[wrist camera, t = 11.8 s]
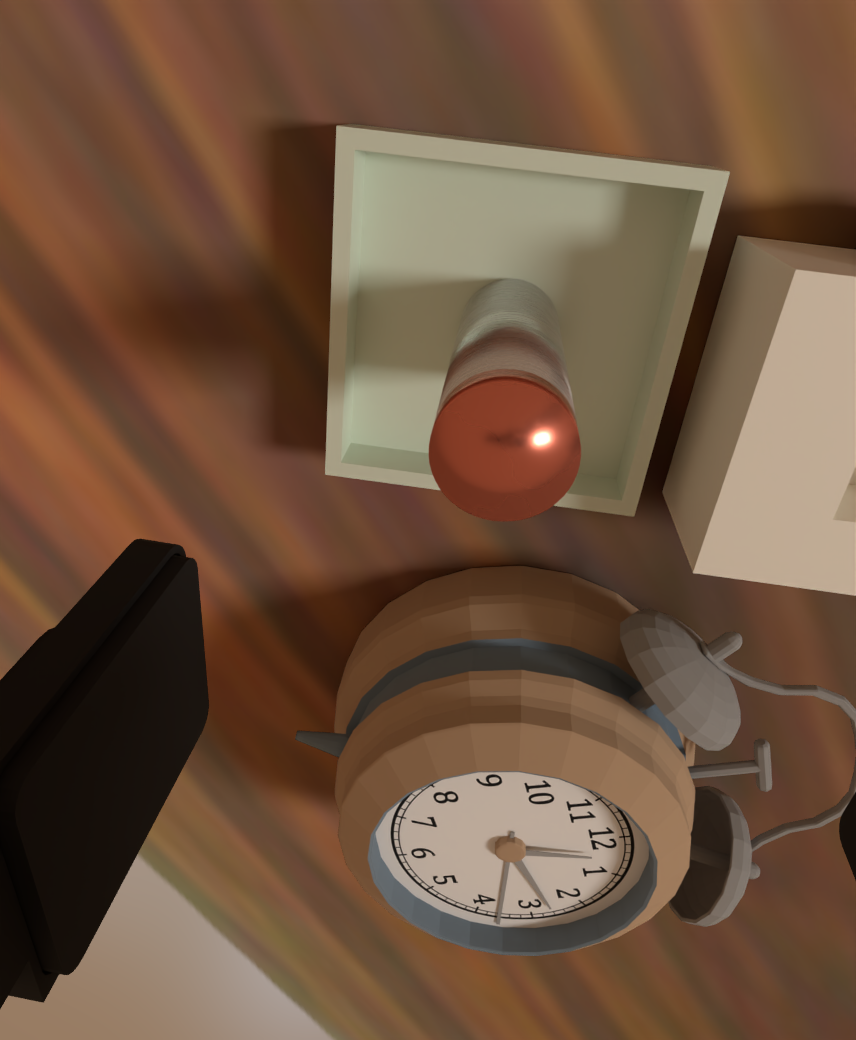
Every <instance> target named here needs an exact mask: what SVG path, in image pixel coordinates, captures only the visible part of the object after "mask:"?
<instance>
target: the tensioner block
mask: <svg viewBox="0 0 856 1040" xmlns="http://www.w3.org/2000/svg"><path fill="white" fill-rule="evenodd" d="M662 493H663V495H664V498H665V501H666V503H667V506H668V509H669V511H670V514H671V516H672V519H673V522H674V524H675V527H676V530H677V532H678V535H679V538H680V540H681V543H682V545H683V548H684V551H685V553H686V556H687V559H688V561H689V564H690V567H691V569H692V572H693V573H697V574H704V575H712V576H719V577H726V578H733V579H740V580H748V581H755V582H762V583H769V584H776V585H783V586H791V587H798V588H805V589H812V590H819V591H827V592H834V593H841V594H848V595H855V596H856V249H847V248H839V247H831V246H822V245H814V244H806V243H798V242H789V241H781V240H773V239H764V238H756V237H748V236H739V235H738V236H737V240H736V243H735V246H734V250H733V253H732V257H731V260H730V263H729V267H728V270H727V274H726V277H725V280H724V284H723V287H722V291H721V294H720V297H719V301H718V304H717V308H716V311H715V314H714V318H713V321H712V325H711V328H710V331H709V335H708V338H707V342H706V345H705V348H704V352H703V355H702V359H701V362H700V365H699V369H698V372H697V376H696V379H695V382H694V386H693V389H692V393H691V396H690V399H689V403H688V406H687V410H686V413H685V416H684V420H683V423H682V427H681V430H680V433H679V437H678V440H677V444H676V447H675V450H674V454H673V457H672V461H671V464H670V467H669V471H668V474H667V477H666V481H665V484H664V488H663V491H662Z"/></svg>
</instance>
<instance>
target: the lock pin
mask: <svg viewBox="0 0 856 1040" xmlns="http://www.w3.org/2000/svg"><path fill="white" fill-rule="evenodd" d="M580 460H581V444H580V437H579V432H578V426H577V421H576V415H575V410H574V404H573V398H572V393H571V387H570V382H569V376H568V371H567V365H566V360H565V354H564V348H563V343H562V337H561V332H560V326H559V321H558V315H557V312H556V309H555V307H554V304H553V303H552V301H551V299H550V298H549V297H548V296H547V294H546V293H545V292H544V291H543V290H541V289H540V288H539V287H537V286H536V285H534V284H532V283H530V282H527V281H524V280H520V279H501V280H497V281H494V282H491V283H489V284H487V285H485V286H483V287H482V288H481V289H479V290H478V291H477V292H476V293H475V294H474V295H473V296H472V297H471V298H470V300H469V301H468V303H467V304H466V306H465V308H464V310H463V313H462V317H461V320H460V324H459V328H458V332H457V336H456V340H455V344H454V347H453V351H452V355H451V359H450V363H449V367H448V371H447V375H446V378H445V382H444V386H443V390H442V394H441V398H440V402H439V406H438V409H437V413H436V417H435V421H434V425H433V429H432V433H431V437H430V442H429V464H430V468H431V471H432V474H433V477H434V479H435V481H436V483H437V485H438V486H439V488H440V490H441V491H442V492H443V493H444V495H445V496H446V497H447V498H448V499H449V500H450V501H451V502H452V503H454V504H455V505H456V506H457V507H459V508H460V509H462V510H464V511H465V512H467V513H469V514H472V515H474V516H476V517H480V518H483V519H487V520H492V521H516V520H523V519H526V518H530V517H533V516H535V515H538V514H540V513H542V512H544V511H546V510H547V509H549V508H550V507H552V506H553V505H555V504H556V503H557V502H558V501H559V500H560V499H561V498H562V497H563V496H564V495H565V494H566V493H567V491H568V490H569V489H570V487H571V486H572V484H573V482H574V480H575V478H576V476H577V473H578V470H579V466H580Z"/></svg>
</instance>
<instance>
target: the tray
mask: <svg viewBox="0 0 856 1040" xmlns="http://www.w3.org/2000/svg"><path fill="white" fill-rule="evenodd" d="M729 174H730V172H729V171H726V170H723V169H719V168H716V167H713V166H708V165H700V164H691V163H683V162H674V161H666V160H657V159H649V158H640V157H632V156H623V155H614V154H606V153H597V152H589V151H580V150H572V149H563V148H555V147H546V146H538V145H529V144H520V143H512V142H503V141H495V140H486V139H478V138H469V137H461V136H452V135H444V134H435V133H427V132H418V131H409V130H401V129H392V128H384V127H375V126H367V125H358V124H346V125H338V126H336V152H335V183H334V214H333V246H332V277H331V308H330V339H329V370H328V401H327V432H326V463H325V475H333V476H340V477H347V478H355V479H362V480H369V481H377V482H384V483H391V484H399V485H406V486H413V487H421V488H428V489H435V490H440V488H439V486H438V485H437V483H436V481H435V479H434V477H433V474H432V471H431V468H430V464H429V442H430V437H431V433H432V429H433V425H434V421H435V417H436V413H437V409H438V406H439V402H440V398H441V394H442V390H443V386H444V382H445V378H446V375H447V371H448V367H449V363H450V359H451V355H452V351H453V347H454V344H455V340H456V336H457V332H458V328H459V324H460V320H461V317H462V313H463V310H464V308H465V306H466V304H467V303H468V301H469V300H470V298H471V297H472V296H473V295H474V294H475V293H476V292H477V291H478V290H479V289H481V288H482V287H483V286H485V285H487V284H489V283H491V282H494V281H497V280H501V279H520V280H524V281H527V282H530V283H532V284H534V285H536V286H537V287H539V288H540V289H541V290H543V291H544V292H545V293H546V294H547V296H548V297H549V298H550V299H551V301H552V303H553V304H554V307H555V309H556V312H557V315H558V321H559V326H560V332H561V337H562V343H563V348H564V354H565V360H566V365H567V371H568V376H569V382H570V387H571V393H572V398H573V404H574V410H575V415H576V421H577V426H578V432H579V437H580V444H581V460H580V466H579V470H578V473H577V476H576V478H575V480H574V482H573V484H572V486H571V487H570V489H569V490H568V491H567V493H566V494H565V495H564V496H563V497H562V498H561V499H560V500H559V501H558V502H557V503H556V504H555V505H553V506H560V507H567V508H574V509H582V510H589V511H596V512H604V513H611V514H618V515H626V516H633V517H634V516H635V512H636V509H637V505H638V501H639V498H640V494H641V491H642V487H643V483H644V480H645V476H646V473H647V469H648V465H649V462H650V458H651V455H652V451H653V447H654V444H655V440H656V437H657V433H658V429H659V426H660V422H661V419H662V415H663V411H664V408H665V404H666V401H667V397H668V393H669V390H670V386H671V383H672V379H673V375H674V372H675V368H676V365H677V361H678V357H679V354H680V350H681V347H682V343H683V339H684V336H685V332H686V329H687V325H688V321H689V318H690V314H691V311H692V307H693V303H694V300H695V296H696V293H697V289H698V285H699V282H700V278H701V275H702V271H703V267H704V264H705V260H706V257H707V253H708V250H709V246H710V242H711V239H712V235H713V232H714V228H715V224H716V221H717V217H718V214H719V210H720V206H721V203H722V199H723V196H724V192H725V188H726V185H727V181H728V178H729Z"/></svg>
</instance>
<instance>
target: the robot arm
mask: <svg viewBox="0 0 856 1040" xmlns="http://www.w3.org/2000/svg"><path fill="white" fill-rule="evenodd" d="M208 709H209V699H208V687H207V675H206V663H205V651H204V639H203V627H202V615H201V603H200V591H199V579H198V568H197V563H196V561H195V559H193V558H188V557H186V554H185V551H184V549H183V547H182V546H180V545H176V544H170V543H164V542H157V541H151V540H145V539H136V540H134V541H133V542H132V543H131V544H130V545H129V546H128V547H127V548H126V549H125V550H124V551H123V553H122V554H121V555H120V556H119V557H118V558H117V559H116V560H115V561H114V563H113V564H112V565H111V566H110V567H109V568H108V569H107V570H106V571H105V573H104V574H103V575H102V576H101V577H100V578H99V579H98V580H97V581H96V583H95V584H94V585H93V586H92V587H91V588H90V589H89V590H88V591H87V593H86V594H85V595H84V596H83V597H82V598H81V599H80V600H79V601H78V603H77V604H76V605H75V606H74V607H73V608H72V609H71V610H70V611H69V613H68V614H67V615H66V616H65V617H64V618H63V619H62V620H61V621H60V623H59V624H58V625H57V626H56V627H55V628H52V629H49V630H48V631H47V632H45V633H44V634H43V635H42V636H41V637H39V638H38V640H37V641H36V642H35V643H34V644H33V645H32V646H31V647H30V648H29V649H28V651H27V652H26V653H25V654H24V655H23V656H22V657H21V658H20V659H19V660H18V661H17V663H16V664H15V665H14V666H13V667H12V668H11V669H10V670H9V671H8V672H7V674H6V675H5V676H4V677H3V678H2V679H1V680H0V1008H1V1007H2V1005H3V1004H4V1002H5V1000H6V998H7V997H8V995H9V996H14V997H19V998H24V999H29V1000H34V1001H38V1002H44V1001H45V999H46V997H47V995H48V994H49V992H50V990H51V988H52V986H53V984H54V983H55V981H56V979H57V977H58V975H59V974H63V975H69V974H70V973H72V972H73V971H74V970H75V969H76V967H77V966H78V965H79V963H80V961H81V960H82V958H83V956H84V954H85V953H86V951H87V949H88V947H89V944H90V943H91V941H92V939H93V937H94V935H95V934H96V932H97V930H98V928H99V926H100V924H101V922H102V920H103V918H104V917H105V915H106V913H107V911H108V909H109V907H110V905H111V903H112V901H113V899H114V897H115V896H116V894H117V892H118V890H119V888H120V886H121V884H122V882H123V880H124V879H125V876H126V875H127V873H128V871H129V869H130V867H131V865H132V863H133V861H134V860H135V858H136V856H137V854H138V852H139V850H140V848H141V846H142V845H143V843H144V841H145V839H146V837H147V835H148V833H149V831H150V829H151V827H152V826H153V824H154V822H155V820H156V818H157V816H158V814H159V812H160V810H161V809H162V807H163V805H164V803H165V801H166V799H167V797H168V795H169V793H170V791H171V790H172V788H173V786H174V784H175V782H176V780H177V778H178V776H179V774H180V773H181V771H182V769H183V767H184V765H185V763H186V761H187V759H188V757H189V755H190V754H191V752H192V750H193V748H194V746H195V744H196V742H197V740H198V738H199V737H200V735H201V733H202V731H203V728H204V726H205V723H206V720H207V715H208ZM839 833H840V840H841V843H842V847H843V849H844V852H845V854H846V857H847V859H848V862H849V864H850V867H851V870H852V872H853V875H854V877H855V880H856V792H855V794H854V795H853V797H852V799H851V800H850V802H849V803H848V805H847V807H846V808H845V810H844V812H843V814H842V816H841V819H840V824H839Z"/></svg>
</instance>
